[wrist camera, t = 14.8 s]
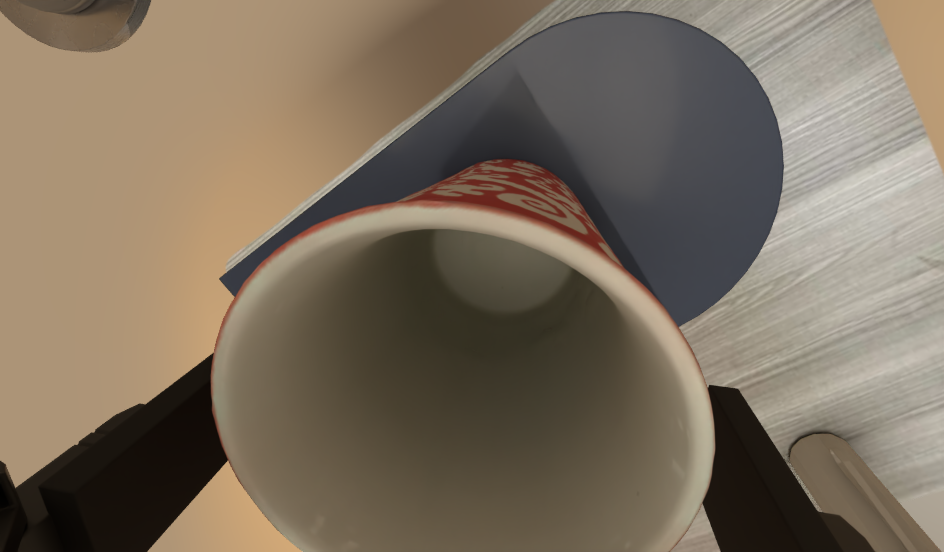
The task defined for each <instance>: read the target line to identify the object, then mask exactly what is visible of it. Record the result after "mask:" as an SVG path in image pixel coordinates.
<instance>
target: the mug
mask: <svg viewBox="0 0 944 552" xmlns="http://www.w3.org/2000/svg"><path fill="white" fill-rule="evenodd" d="M211 397H212V413H213V416H214V420H215V423H216V427H217V431H218V434H219V438H220V441H221V444H222V447H223V449H224V452H225V454H226V456H227V459H228V461H229V463H230V465H231V467H232V469H233V471H234V473H235V475H236V477H237V479H238V481H239V482H240V484H241V485H242V486H243V488H244V489H245V490H246V492H247V493H248V494H249V496H250V497H251V499H252V500H253V501H254V503H255V504H256V505H257V507H258V508H259V509H260V510H261V512H262V513H263V514H264V515H265V517H266V518H267V519H268V520H269V521H270V522H271V523H272V525H273V526H274V527H275V528H276V529H277V530H278V531H279V532H280V533H281V534H282V535H284V536H285V537H286V538H287V539H288V540H289V541H290V542H291V543H292V544H294V545H295V546H296V547H298V548H299V549H300V550H301V551H303V552H670V551H671V550H672V549H673V548H674V547H675V546H676V545H677V543H678V542H679V541H680V540H681V539H682V537H683V536H684V535H685V533H686V532H687V531H688V529H689V527H690V526H691V524H692V522H693V520H694V519H695V517H696V515H697V514H698V512H699V510H700V508H701V505H702V502H703V500H704V497H705V495H706V493H707V491H708V488H709V484H710V480H711V476H712V466H713V460H714V454H715V431H714V420H713V412H712V405H711V401H710V397H709V392H708V388H707V385H706V382H705V380H704V377H703V374H702V371H701V368H700V366H699V363H698V361H697V359H696V357H695V355H694V353H693V351H692V349H691V347H690V345H689V344H688V342H687V340H686V339H685V337H684V335H683V334H682V332H681V330H680V329H679V327H678V325H677V324H676V323H675V321H674V320H673V319H672V318H671V316H670V315H669V313H668V312H667V310H666V309H665V307H664V306H663V305H662V304H661V303H660V302H659V301H658V300H657V299H656V297H655V296H654V295H653V294H652V293H651V292H650V291H649V290H648V289H647V288H646V287H645V286H644V285H643V284H642V283H641V282H639V281H638V280H637V279H636V278H635V277H634V276H633V275H632V274H630V273H629V272H628V271H627V270H626V269H625V268H624V267H623V265H622V264H621V262H620V261H619V259H618V258H617V257H616V255H615V254H614V252H613V251H612V250H611V248H610V247H609V245H608V244H607V243H606V242H605V240H604V239H603V237H602V236H601V234H600V232H599V231H598V229H597V228H596V226H595V225H594V223H593V222H592V220H591V219H590V217H589V216H588V214H587V213H586V211H585V209H584V207H583V206H582V205H581V203H580V202H579V200H578V198H577V197H576V196H575V194H574V193H573V192H572V191H571V190H570V189H569V187H568V186H567V185H566V184H565V183H564V182H563V181H562V180H560V179H559V178H558V177H557V176H556V175H554V174H553V173H551V172H550V171H548V170H547V169H545V168H543V167H541V166H538V165H536V164H533V163H530V162H526V161H523V160H515V159H495V160H490V161H485V162H479V163H477V164H475V165H473V166H470V167H468V168H466V169H464V170H462V171H460V172H459V173H457V174H455V175H453V176H451V177H449V178H447V179H444V180H442V181H440V182H438V183H436V184H434V185H432V186H430V187H428V188H425V189H423V190H421V191H418V192H416V193H413V194H411V195H409V196H407V197H405V198H403V199H401V200H399V201H397V202H392V203H385V204H379V205H372V206H366V207H363V208H360V209H357V210H354V211H350V212H347V213H344V214H341V215H338V216H335V217H333V218H330V219H328V220H325V221H323V222H320V223H318V224H315V225H313V226H311V227H310V228H308V229H307V230H305V231H303V232H302V233H300V234H298V235H297V236H295V237H293V238H292V239H290V240H289V241H288V242H286V243H285V244H283V245H282V246H280V247H279V248H278V249H276V250H275V251H274V252H273V253H272V254H271V255H270V256H269V257H268V258H266V259H265V260H264V261H263V262H262V263H261V264H260V265H259V266H258V267H257V268H256V269H255V271H254V272H253V273H252V274H251V275H250V276H249V277H248V278H247V280H246V281H245V282H244V283H243V285H242V287H241V288H240V290H239V292H238V293H237V295H236V296H235V298H234V300H233V301H232V303H231V305H230V306H229V309H228V310H227V312H226V314H225V316H224V318H223V321H222V324H221V327H220V330H219V334H218V337H217V340H216V344H215V349H214V354H213V360H212V369H211Z"/></svg>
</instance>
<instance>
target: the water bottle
mask: <svg viewBox="0 0 944 552" xmlns="http://www.w3.org/2000/svg"><path fill="white" fill-rule="evenodd" d="M789 461H790V463H791V464H792V466H793V467H794V469H795V471H796V472H797V474H798V475H799V477H800V478H801V480H802V481H803V483H804V484H805V486H806V487H807V489H808V490H809V492H810V493H811V495H812V496H813V498H814V499H815V501H816V502H817V504H818V505H819V507H820V508H821V510H822V511H823V512H824V513H830V514H836V515H840V516H841V517H842V518H843V519H845V520H846V521H847V522H848V523H849V524H850V525H851V526H852V527H854V528H855V529H856V530H857V531H858V532H859V533H860V534H861V535H863V536H864V537H865V538H866V540H867V541H868V542H869V544H870V545H871V547H872V548H873V549H874V551H875V552H941V551H940V549H939V548H938V547H937V546H936V545H935V544H934V543H933V541H932V540H931V539H930V538H929V537H928V536H927V534H926V533H925V532H924V531H923V530H922V529H921V528H920V526H919V525H918V524H917V523H916V522H915V521H914V519H913V518H912V517H911V516H910V515H909V514H908V512H907V511H906V510H905V509H904V508H903V507H902V506H901V504H900V503H899V502H898V501H897V500H896V499H895V497H894V496H893V495H892V494H891V493H890V492H889V491H888V489H887V488H886V487H885V486H884V485H883V484H882V482H881V481H880V480H879V479H878V478H877V477H876V476H875V474H874V473H873V472H872V471H871V470H870V469H869V467H868V466H867V465H866V464H865V463H864V462H863V461H862V459H861V458H860V457H859V456H858V455H857V454H856V452H855V451H854V450H853V449H852V448H851V447H850V446H849V444H848V443H847V442H846V441H845V440H843V439H841V438H839V437H837V436H834V435H832V434H812V435H810V436H807V437H805V438H802V439H800V440H799V441H798V442H797V443H796V444H795V445H794V446H793V447H792V449H791V454H790V460H789Z"/></svg>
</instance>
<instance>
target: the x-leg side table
mask: <svg viewBox="0 0 944 552" xmlns="http://www.w3.org/2000/svg"><path fill="white" fill-rule="evenodd" d="M495 159H515V160H523V161H526V162H530V163H533V164H536V165H538V166H541V167H543V168H545V169H547V170H548V171H550V172H551V173H553V174H554V175H556V176H557V177H558V178H559V179H560V180H562V181H563V182H564V183H565V184H566V185H567V186H568V187H569V189H570V190H571V191H572V192H573V193H574V194H575V196H576V197H577V198H578V200H579V202H580V203H581V205H582V206H583V207H584V209H585V211H586V213H587V214H588V216H589V217H590V219H591V220H592V222H593V223H594V225H595V226H596V228H597V229H598V231H599V232H600V234H601V236H602V237H603V239H604V240H605V242H606V243H607V244H608V245H609V247H610V248H611V250H612V251H613V252H614V254H615V255H616V257H617V258H618V259H619V261H620V262H621V264H622V265H623V267H624V268H625V269H626V270H627V271H628V272H629V273H630V274H632V275H633V276H634V277H635V278H636V279H637V280H638V281H639V282H641V283H642V284H643V285H644V286H645V287H646V288H647V289H648V290H649V291H650V292H651V293H652V294H653V295H654V296H655V297H656V299H657V300H658V301H659V302H660V303H661V304H662V305H663V306H664V307H665V309H666V310H667V312H668V313H669V315H670V316H671V318H672V319H673V320H674V321H675V323H676V324H677V325H678V327H679V326H681V325H683V324H684V323H686V322H688V321H690V320H692V319H693V318H695V317H697V316H699V315H700V314H701V313H703V312H704V311H706V310H707V309H708V308H710V307H711V306H713V305H714V304H715V303H716V302H718V301H719V300H720V299H721V298H722V297H723V296H724V295H725V294H727V293H728V292H729V291H730V290H731V289H732V288H733V287H734V286H735V284H736V283H737V282H738V281H739V280H740V279H741V278H742V277H743V275H744V274H745V273H746V272H747V270H748V269H749V267H750V266H751V265H752V263H753V262H754V260H755V259H756V257H757V256H758V254H759V253H760V251H761V249H762V247H763V245H764V243H765V241H766V239H767V237H768V235H769V233H770V230H771V228H772V225H773V222H774V219H775V217H776V214H777V210H778V206H779V201H780V197H781V192H782V183H783V170H784V163H783V149H782V140H781V136H780V131H779V127H778V122H777V119H776V116H775V114H774V111H773V109H772V106H771V104H770V101H769V99H768V96H767V95H766V93H765V91H764V90H763V88H762V86H761V85H760V83H759V81H758V80H757V78H756V76H755V75H754V74H753V73H752V72H751V70H750V69H749V68H748V67H747V66H746V65H745V63H744V62H743V61H742V60H741V59H740V58H739V57H738V56H737V55H736V54H735V53H734V52H732V51H731V50H730V49H729V48H728V47H727V46H725V45H724V44H723V43H722V42H721V41H719V40H717V39H716V38H714V37H712V36H711V35H709V34H708V33H706V32H704V31H703V30H701V29H699V28H697V27H694V26H692V25H689V24H687V23H685V22H682V21H680V20H677V19H673V18H669V17H665V16H661V15H657V14H653V13H643V12H632V11H619V12H601V13H596V14H591V15H586V16H581V17H576V18H573V19H570V20H567V21H564V22H561V23H559V24H556V25H553V26H550V27H548V28H546V29H545V30H543V31H541V32H539V33H537V34H535V35H533V36H531V37H529V38H527V39H526V40H524V41H523V42H521V43H520V44H519V45H517V46H516V47H514V48H513V49H511V50H510V51H508V52H507V53H506V54H504V55H503V56H502V57H501V58H499V59H498V60H497V61H495V62H494V63H493V64H492V65H490V66H489V67H488V68H487V69H485V70H484V71H483V72H481V73H480V74H479V75H478V76H476V77H475V78H474V79H473V80H471V81H470V82H469V83H467V84H466V85H465V86H464V87H462V88H461V89H460V90H459V91H457V92H456V93H455V94H453V95H452V96H451V97H450V98H448V99H447V100H446V101H445V102H443V103H442V104H441V105H439V106H438V107H437V108H436V109H434V110H433V111H432V112H430V113H429V114H428V115H427V116H425V117H424V118H423V119H422V120H420V121H419V122H418V123H416V124H415V125H414V126H413V127H411V128H410V129H409V130H408V131H406V132H405V133H404V134H402V135H401V136H400V137H399V138H397V139H396V140H395V141H394V142H392V143H391V144H390V145H388V146H387V147H386V148H385V149H383V150H382V151H381V152H380V153H378V154H377V155H376V156H374V157H373V158H372V159H371V160H369V161H368V162H367V163H365V164H364V165H363V166H362V167H360V168H359V169H358V170H357V171H355V172H354V173H353V174H351V175H350V176H349V177H348V178H346V179H345V180H344V181H343V182H341V183H340V184H339V185H337V186H336V187H335V188H334V189H332V190H331V191H330V192H329V193H327V194H326V195H325V196H323V197H322V198H321V199H320V200H318V201H317V202H316V203H315V204H313V205H312V206H311V207H309V208H308V209H307V210H306V211H304V212H303V213H302V214H300V215H299V216H298V217H297V218H295V219H294V220H293V221H292V222H290V223H289V224H288V225H286V226H285V227H284V228H283V229H281V230H280V231H279V232H278V233H276V234H275V235H274V236H272V237H271V238H270V239H269V240H267V241H266V242H265V243H264V244H262V245H261V246H260V247H258V248H257V249H256V250H255V251H253V252H252V253H251V254H250V255H248V256H247V257H246V258H244V259H243V260H242V261H241V262H239V263H238V264H237V265H236V266H234V267H233V268H232V269H230V270H229V271H228V272H227V273H225V274H224V275H223V276H222V277H220V278H219V279H220V281H221V282H222V283H223V284H224V285H225V287H226V288H227V289H228V290H229V291H230V292H231V293H232V295H233V296H234V297H235V296H236V295H237V293H238V292H239V290H240V288H241V287H242V285H243V283H244V282H245V281H246V280H247V278H248V277H249V276H250V275H251V274H252V273H253V272H254V271H255V269H256V268H257V267H258V266H259V265H260V264H261V263H262V262H263V261H264V260H265V259H266V258H268V257H269V256H270V255H271V254H272V253H273V252H274V251H275V250H276V249H278V248H279V247H280V246H282V245H283V244H285V243H286V242H288V241H289V240H290V239H292V238H293V237H295V236H297V235H298V234H300V233H302V232H303V231H305V230H307V229H308V228H310V227H311V226H313V225H315V224H318V223H320V222H323V221H325V220H328V219H330V218H333V217H335V216H338V215H341V214H344V213H347V212H350V211H354V210H357V209H360V208H363V207H366V206H372V205H379V204H385V203H392V202H397V201H399V200H401V199H403V198H405V197H407V196H409V195H411V194H413V193H416V192H418V191H421V190H423V189H425V188H428V187H430V186H432V185H434V184H436V183H438V182H440V181H442V180H444V179H447V178H449V177H451V176H453V175H455V174H457V173H459V172H460V171H462V170H464V169H466V168H468V167H470V166H473V165H475V164H477V163H479V162H485V161H490V160H495Z"/></svg>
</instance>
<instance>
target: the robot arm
mask: <svg viewBox="0 0 944 552" xmlns="http://www.w3.org/2000/svg"><path fill="white" fill-rule="evenodd" d="M16 1H18V2H20V3H22V4H24V5H26V6H29V7H32V8H35V9H38V10H41V11H45V12H51V13H57V14H72V13H76V12H79V11H82V10H84V9H85V8H87V7H88V6H89V5H91V4H92V3H93V2H94V1H95V0H16ZM213 354H214V353H213ZM213 354H211V355H210V356H209V357H207V358H206V359H205V360H203V361H202V362H201V363H199V364H198V365H197V366H196V367H194V368H193V369H192V370H190V371H189V372H188V373H186V374H185V375H184V376H182V377H181V378H180V379H178V380H177V381H176V382H174V383H173V384H172V385H171V386H169V387H168V388H167V389H165V390H164V391H163V392H161V393H160V394H159V395H157V396H156V397H155V398H153V399H152V400H151V401H149V402H148V403H147V404H138V405H136V406H133V407H131V408H129V409H127V410H125V411H123V412H121V413H119V414H116V415H115V416H113V417H112V418H111V419H109V420H108V421H106V422H105V423H104V424H102V425H101V426H100V427H98V428H97V429H96V430H95V432H94V433H90V434H89V435H87V436H86V437H85V438H83V439H82V440H80V441H79V444H78V445H74V446H72V447H71V448H70V449H68V450H67V451H65V452H64V453H63V454H61V455H60V456H59V457H57V458H56V459H55V460H54V461H52V462H51V463H49V464H48V465H46V466H45V467H44V468H42V469H41V470H40V471H38V472H37V473H35V474H34V475H33V476H31V477H30V478H29V479H27V480H26V481H24V482H23V483H22V484H20V485H19V486H18V487H16V488H15V486H14V484H13V482H12V479H11V477H10V475H9V472H8V469H7V467H6V464H4V463H3V462H1V461H0V552H147V551H148V550H149V549H150V548H151V547H152V545H153V544H154V543H155V542H156V541H157V540H158V539H159V538H160V536H161V535H162V534H163V533H164V532H165V531H166V530H167V528H168V527H169V526H170V525H171V524H172V523H173V522H174V520H175V519H176V518H177V517H178V516H179V515H180V514H181V513H182V511H183V510H184V509H185V508H186V507H187V506H188V505H189V504H190V503H191V501H192V500H193V499H194V498H195V497H196V496H197V495H198V494H199V492H200V491H201V490H202V489H203V488H204V487H205V486H206V484H207V483H208V482H209V481H210V480H211V479H212V478H213V477H214V475H215V474H216V473H217V472H218V471H219V470H220V469H221V468H222V466H223V465H224V464H225V463H226V462H227V461H228V459H227V456H226V454H225V452H224V449H223V447H222V444H221V441H220V438H219V434H218V431H217V427H216V423H215V420H214V416H213V413H212V397H211V369H212V360H213ZM708 392H709V397H710V401H711V405H712V412H713V420H714V431H715V454H714V460H713V466H712V476H711V480H710V484H709V488H708V491H707V493H706V495H705V497H704V500H703V502H702V503H703V506H704V509H705V511H706V514H707V517H708V519H709V522H710V524H711V527H712V530H713V532H714V535H715V538H716V540H717V543H718V546H719V548H720V551H721V552H875V551H874V549H873V548H872V547H871V545H870V544H869V542H868V541H867V540H866V538H865V537H864V536H863V535H861V534H860V533H859V532H858V531H857V530H856V529H855V528H854V527H852V526H851V525H850V524H849V523H848V522H847V521H846V520H845V519H843V518H842V517H841V516H840V515H836V514H830V513H824V512H818V511H817V510H816V508H815V507H814V505H813V504H812V502H811V501H810V499H809V497H808V496H807V494H806V493H805V491H804V490H803V488H802V487H801V485H800V484H799V482H798V480H797V479H796V477H795V476H794V474H793V473H792V471H791V470H790V468H789V467H788V465H787V464H786V462H785V460H784V459H783V457H782V456H781V454H780V453H779V451H778V450H777V448H776V447H775V445H774V444H773V442H772V440H771V439H770V437H769V436H768V434H767V433H766V431H765V430H764V428H763V427H762V425H761V423H760V422H759V420H758V419H757V417H756V416H755V414H754V413H753V411H752V410H751V408H750V407H749V405H748V403H747V402H746V400H745V399H744V397H743V396H742V394H741V393H740V391H739V390H738V389H736V388H729V387H721V386H714V385H709V387H708Z"/></svg>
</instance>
